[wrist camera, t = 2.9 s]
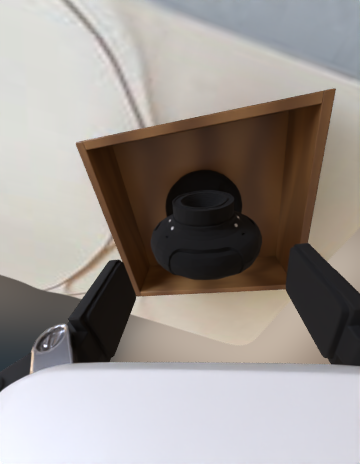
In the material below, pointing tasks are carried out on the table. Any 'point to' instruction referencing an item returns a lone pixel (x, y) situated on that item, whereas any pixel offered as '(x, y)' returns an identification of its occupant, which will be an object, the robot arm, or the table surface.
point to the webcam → (205, 229)
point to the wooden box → (225, 162)
